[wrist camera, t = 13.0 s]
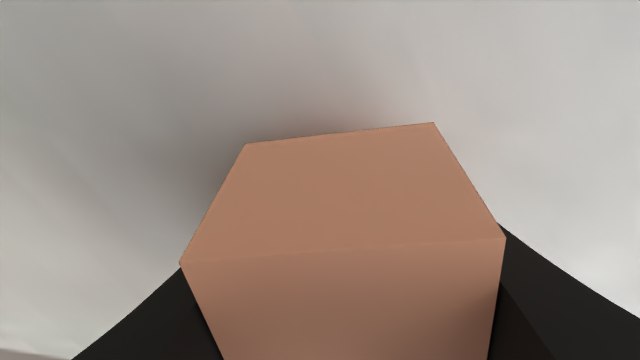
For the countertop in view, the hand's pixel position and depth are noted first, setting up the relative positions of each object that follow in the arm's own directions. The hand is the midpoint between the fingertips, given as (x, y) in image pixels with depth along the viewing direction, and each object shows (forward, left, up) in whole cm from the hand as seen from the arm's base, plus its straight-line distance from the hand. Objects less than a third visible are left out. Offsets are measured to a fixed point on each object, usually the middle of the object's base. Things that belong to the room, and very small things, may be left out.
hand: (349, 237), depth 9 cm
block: (0, 0, -1) cm, 1 cm away
